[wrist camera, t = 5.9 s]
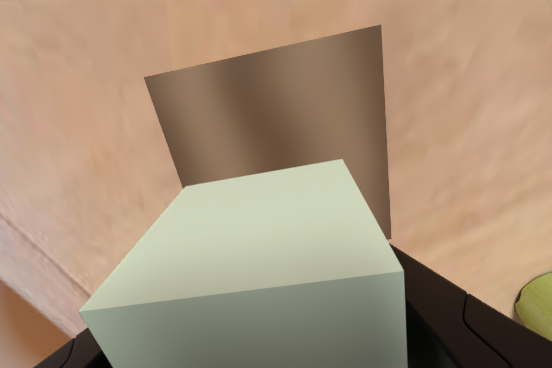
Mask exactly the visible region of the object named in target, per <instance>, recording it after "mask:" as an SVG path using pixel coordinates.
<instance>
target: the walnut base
mask: <svg viewBox="0 0 552 368" xmlns="http://www.w3.org/2000/svg"><path fill="white" fill-rule="evenodd" d="M144 79H145V82H146V85H147V88H148V91H149V93H150V96H151V99H152V102H153V105H154V108H155V110H156V113H157V116H158V119H159V122H160V125H161V127H162V130H163V133H164V136H165V139H166V142H167V144H168V147H169V150H170V153H171V156H172V159H173V161H174V164H175V167H176V170H177V173H178V176H179V178H180V181H181V184H182V187H183V189H184V188H185V186H191V185H196V184H202V183H208V182H213V181H219V180H225V179H231V178H236V177H242V176H248V175H253V174H259V173H265V172H271V171H276V170H282V169H288V168H293V167H299V166H305V165H310V164H316V163H322V162H328V161H333V160H339V159H343V161H344V163H345V165H346V167H347V168H348V170H349V172H350V174H351V176H352V177H353V179H354V181H355V183H356V185H357V187H358V188H359V190H360V192H361V194H362V196H363V197H364V199H365V201H366V203H367V205H368V207H369V208H370V210H371V212H372V214H373V216H374V217H375V219H376V221H377V223H378V225H379V227H380V228H381V230H382V232H383V234H384V236H385V237H386V239H391V221H390V200H389V179H388V159H387V138H386V117H385V97H384V76H383V56H382V35H381V25H377V26H373V27H368V28H364V29H359V30H355V31H350V32H346V33H341V34H337V35H332V36H328V37H323V38H319V39H315V40H310V41H306V42H301V43H297V44H292V45H288V46H283V47H279V48H274V49H270V50H265V51H261V52H256V53H252V54H247V55H243V56H238V57H234V58H229V59H225V60H220V61H216V62H211V63H207V64H202V65H198V66H193V67H189V68H184V69H180V70H175V71H171V72H166V73H162V74H157V75H153V76H148V77H144Z"/></svg>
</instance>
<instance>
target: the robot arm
mask: <svg viewBox="0 0 552 368" xmlns="http://www.w3.org/2000/svg"><path fill="white" fill-rule="evenodd" d="M389 245H390V247H391V248H392V250H393V252H394V254H395V256H396V257H397V259H398V261H399V263H400V265H401V266H402V268H403V270H404V286H405V312H406V339H407V365H408V368H552V341H551V340H549V339H547V338H545V337H543V336H541V335H540V334H538V333H536V332H534V331H532V330H531V329H529V328H527V327H525V326H523V325H522V324H520V323H518V322H516V321H514V320H512V319H511V318H509V317H507V316H506V315H504V314H502V313H501V312H499V311H497V310H496V309H494V308H492V307H491V306H489V305H487V304H486V303H484V302H482V301H481V300H479V299H477V298H476V297H474V296H473V295H471V294H467V292H466V291H465V290H463V289H461V288H460V287H458V286H457V285H455V284H453V283H452V282H450V281H449V280H447V279H445V278H444V277H442V276H441V275H439V274H437V273H436V272H434V271H433V270H431V269H429V268H428V267H426V266H425V265H423V264H421V263H420V262H418V261H417V260H415V259H414V258H412V257H410V256H409V255H407V254H406V253H404V252H402V251H401V250H399V249H398V248H396V247H394V246H393V245H391V244H390V243H389ZM33 368H113V367H112V365H111V363H110V362H109V360H108V359H107V357H106V355H105V354H104V352H103V351H102V349H101V347H100V346H99V344H98V343H97V341H96V339H95V338H94V336H93V335H92V333H91V331H90V330H89V328H86V329H85V330H84V331H82V332H81V333H80V334H78V335H77V336H76V338H73V339H71V340H70V341H69V342H67V343H66V344H65V345H63V346H62V347H61V348H59V349H58V350H57V351H55V352H54V353H53V354H51V355H50V356H48V357H47V358H46V359H44V360H43V361H42V362H40V363H39V364H38V365H36V366H35V367H33Z"/></svg>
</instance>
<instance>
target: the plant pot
mask: <svg viewBox="0 0 552 368" xmlns="http://www.w3.org/2000/svg"><path fill="white" fill-rule="evenodd" d="M515 308H516V312H517V314H518V315H519V317H520V318H521V320H522V321H523V323H524V324H525V326H526V327H527V328H529V329H531V330H532V331H534V332H536V333H538V334H540V335H541V336H543V337H545V338H547V339H549V340H551V341H552V272H550V273H547V274H544V275H542V276H540V277H538V278H536V279H534V280H533V281H531V282H530V283H528V284H527V285H526V286H525V287H524V288H523V289H522V291H521V296H520V299H519V301H518V302H517V303H516V304H515Z"/></svg>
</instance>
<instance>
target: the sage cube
mask: <svg viewBox="0 0 552 368" xmlns="http://www.w3.org/2000/svg"><path fill="white" fill-rule="evenodd" d="M78 312H79V314H80V315H81V317H82V319H83V320H84V322H85V323H86V325H87V327H88V328H89V330H90V331H91V333H92V335H93V336H94V338H95V339H96V341H97V343H98V344H99V346H100V347H101V349H102V351H103V352H104V354H105V355H106V357H107V359H108V360H109V362H110V363H111V365H112V367H113V368H408V365H407V339H406V312H405V286H404V270H403V268H402V266H401V265H400V263H399V261H398V259H397V257H396V256H395V254H394V252H393V250H392V248H391V247H390V245H389V243H388V241H387V239H386V237H385V236H384V234H383V232H382V230H381V228H380V227H379V225H378V223H377V221H376V219H375V217H374V216H373V214H372V212H371V210H370V208H369V207H368V205H367V203H366V201H365V199H364V197H363V196H362V194H361V192H360V190H359V188H358V187H357V185H356V183H355V181H354V179H353V177H352V176H351V174H350V172H349V170H348V168H347V167H346V165H345V163H344V161H343V159H339V160H333V161H328V162H322V163H316V164H310V165H305V166H299V167H293V168H288V169H282V170H276V171H271V172H265V173H259V174H253V175H248V176H242V177H236V178H231V179H225V180H219V181H213V182H208V183H202V184H196V185H191V186H185V188H184V189H183V190H182V191H181V192H180V193H179V195H178V196H177V197H176V198H175V199H174V200H173V202H172V203H171V204H170V205H169V206H168V207H167V209H166V210H165V211H164V212H163V213H162V214H161V216H160V217H159V218H158V219H157V220H156V221H155V223H154V224H153V225H152V226H151V227H150V228H149V230H148V231H147V232H146V233H145V234H144V235H143V237H142V238H141V239H140V240H139V241H138V242H137V244H136V245H135V246H134V247H133V248H132V249H131V251H130V252H129V253H128V254H127V255H126V256H125V258H124V259H123V260H122V261H121V262H120V263H119V265H118V266H117V267H116V268H115V269H114V270H113V272H112V273H111V274H110V275H109V276H108V277H107V279H106V280H105V281H104V282H103V283H102V284H101V286H100V287H99V288H98V289H97V290H96V292H95V293H94V294H93V295H92V296H91V297H90V299H89V300H88V301H87V302H86V303H85V304H84V306H83V307H82V308H81V309H80V310H79V311H78Z"/></svg>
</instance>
